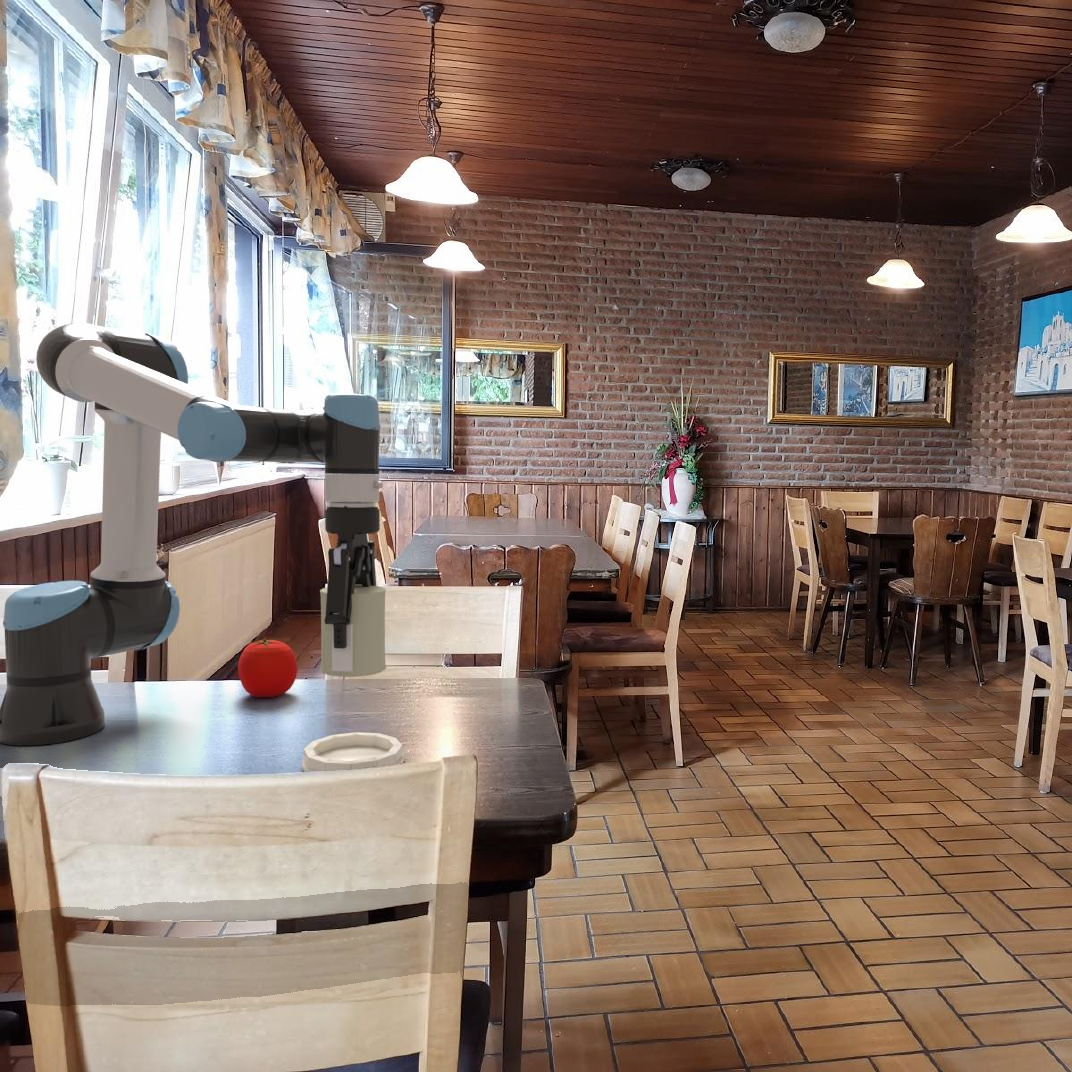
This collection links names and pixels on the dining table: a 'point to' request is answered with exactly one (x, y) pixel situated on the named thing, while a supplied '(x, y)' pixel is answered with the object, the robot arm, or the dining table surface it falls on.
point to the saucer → (352, 752)
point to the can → (359, 633)
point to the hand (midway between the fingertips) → (353, 662)
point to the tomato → (267, 668)
